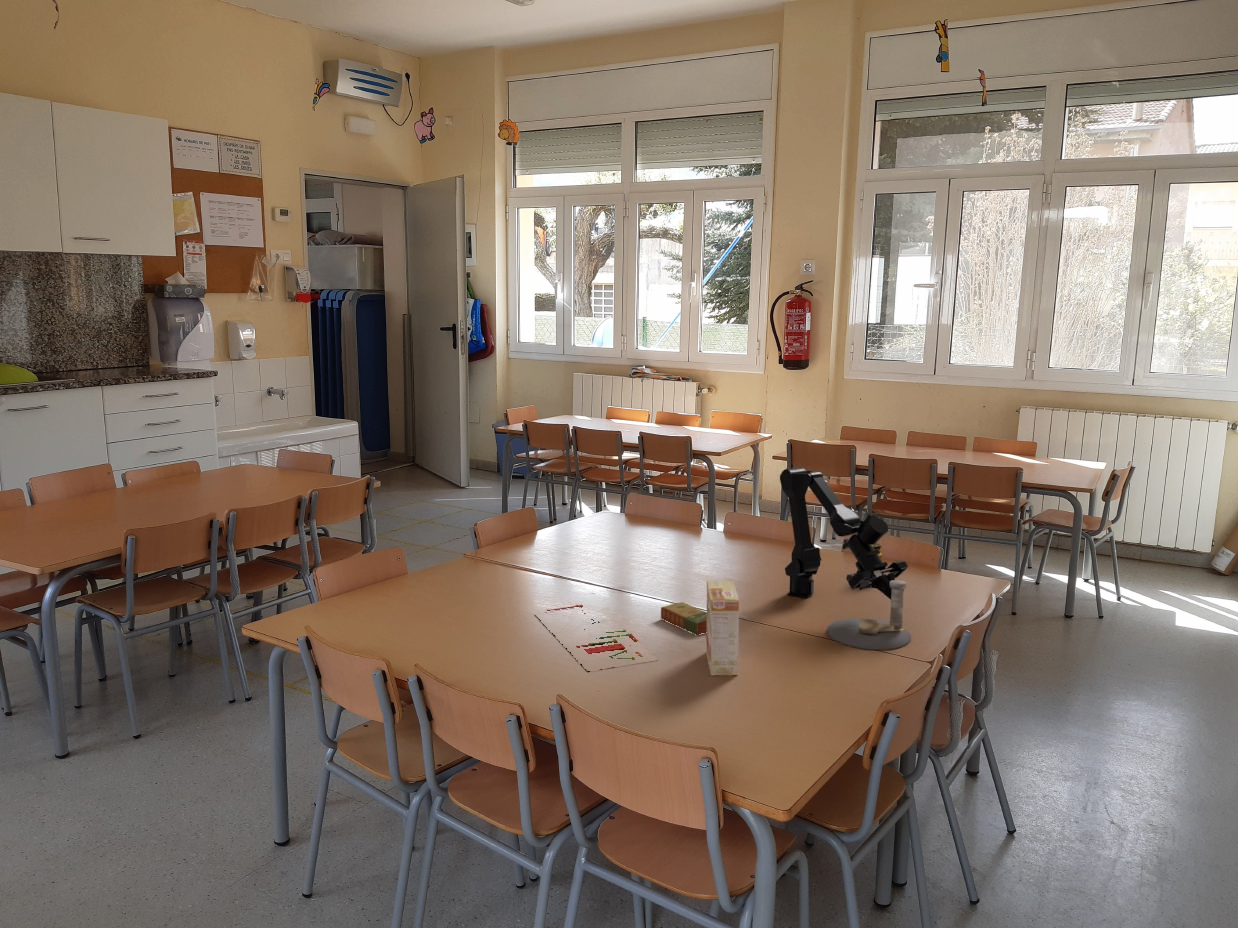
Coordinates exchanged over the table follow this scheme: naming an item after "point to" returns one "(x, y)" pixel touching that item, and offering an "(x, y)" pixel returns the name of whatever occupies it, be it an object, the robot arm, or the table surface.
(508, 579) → the table surface
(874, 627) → the crank handle
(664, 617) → the carton
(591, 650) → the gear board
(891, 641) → the dial plate
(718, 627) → the coffeecake box
